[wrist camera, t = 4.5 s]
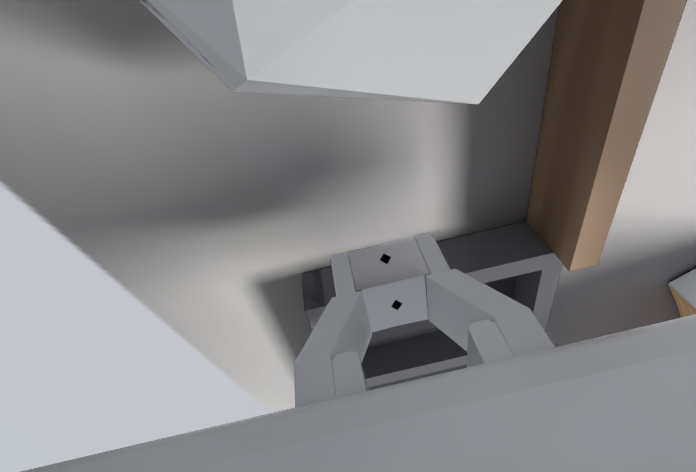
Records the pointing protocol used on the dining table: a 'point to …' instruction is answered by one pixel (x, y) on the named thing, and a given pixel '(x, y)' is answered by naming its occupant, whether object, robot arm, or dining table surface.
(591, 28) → the lane walls
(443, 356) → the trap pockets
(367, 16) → the die
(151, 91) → the dining table surface
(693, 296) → the small box
